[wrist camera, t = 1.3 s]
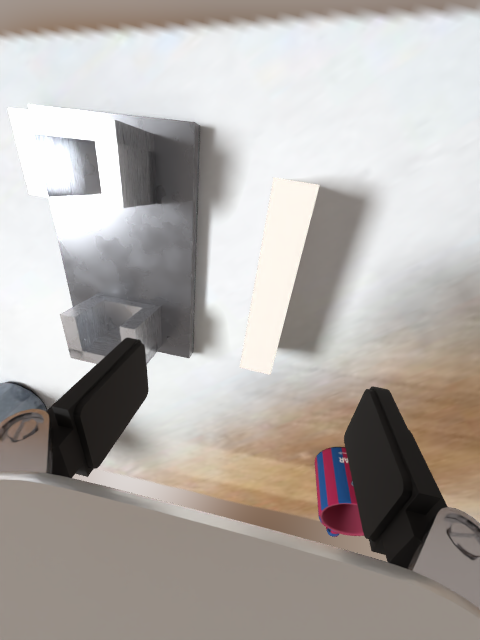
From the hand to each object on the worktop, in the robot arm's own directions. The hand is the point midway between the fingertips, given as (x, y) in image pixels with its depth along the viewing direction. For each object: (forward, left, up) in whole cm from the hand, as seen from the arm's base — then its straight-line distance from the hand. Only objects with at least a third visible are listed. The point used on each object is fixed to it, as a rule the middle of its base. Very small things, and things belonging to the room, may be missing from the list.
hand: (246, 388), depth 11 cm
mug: (-13, +26, -16) cm, 33 cm away
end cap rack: (+15, 0, -16) cm, 22 cm away
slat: (0, 0, -16) cm, 16 cm away
